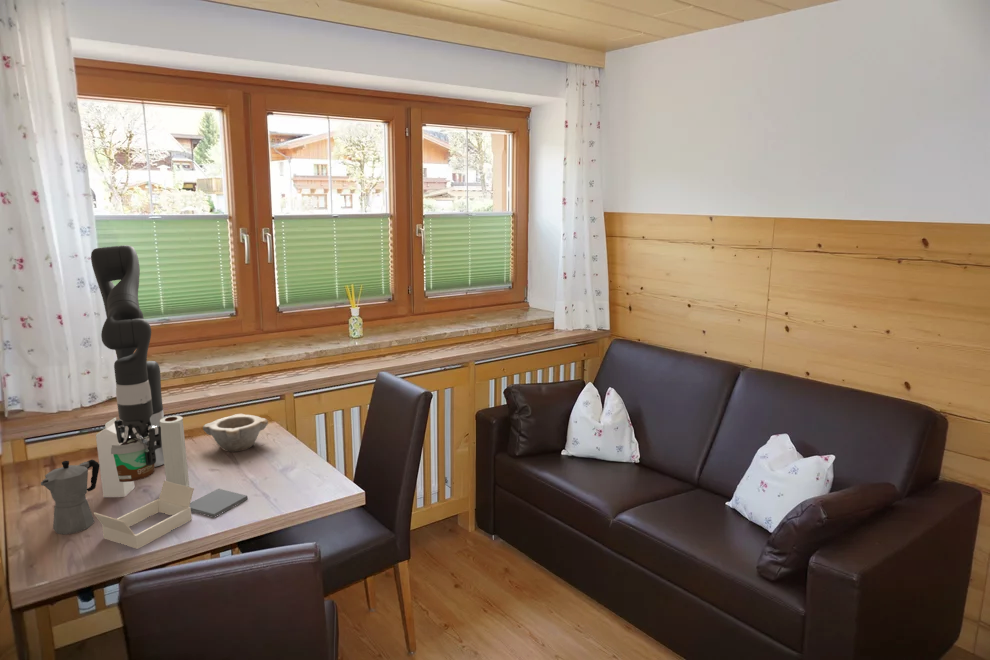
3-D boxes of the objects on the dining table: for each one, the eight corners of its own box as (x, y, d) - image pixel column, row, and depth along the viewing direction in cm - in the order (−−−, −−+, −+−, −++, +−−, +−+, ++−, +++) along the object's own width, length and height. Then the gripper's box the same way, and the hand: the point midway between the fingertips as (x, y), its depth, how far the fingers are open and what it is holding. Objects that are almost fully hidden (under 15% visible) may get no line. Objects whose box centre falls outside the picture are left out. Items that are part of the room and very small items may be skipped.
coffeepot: (62, 541, 166) (52, 474, 162) (36, 534, 169) (26, 468, 165) (117, 514, 180) (109, 451, 176) (92, 508, 183) (84, 446, 179)
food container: (136, 486, 162) (132, 447, 160) (115, 484, 164) (109, 446, 162) (170, 466, 174) (166, 430, 172) (150, 464, 176) (145, 428, 173)
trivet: (184, 509, 183) (184, 505, 182) (218, 491, 193) (218, 488, 193) (214, 517, 178) (213, 514, 178) (247, 498, 189) (247, 495, 189)
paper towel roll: (169, 484, 198) (161, 416, 193) (191, 482, 199) (184, 414, 195) (163, 495, 191) (156, 424, 187) (186, 492, 192) (179, 422, 188)
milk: (134, 488, 195) (127, 416, 191) (124, 497, 190) (116, 423, 185) (113, 488, 195) (105, 416, 191) (102, 497, 189) (94, 423, 185)
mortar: (242, 434, 238) (240, 410, 236) (274, 443, 230) (272, 418, 228) (200, 449, 224) (197, 424, 222) (232, 460, 216) (230, 433, 214)
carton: (95, 542, 165) (91, 512, 164) (166, 507, 184) (163, 479, 182) (129, 553, 160) (125, 522, 159) (198, 516, 179) (195, 488, 177)
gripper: (100, 399, 164) (108, 462, 168) (141, 407, 159) (148, 472, 162) (128, 390, 171) (135, 451, 175) (167, 398, 165) (174, 461, 169)
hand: (141, 461), depth 168 cm, fingers closed on food container, 6 cm apart
